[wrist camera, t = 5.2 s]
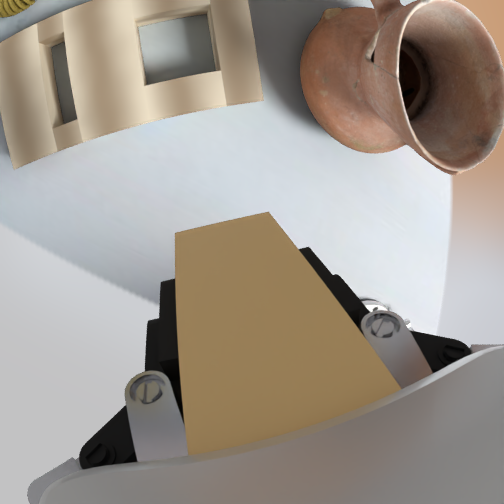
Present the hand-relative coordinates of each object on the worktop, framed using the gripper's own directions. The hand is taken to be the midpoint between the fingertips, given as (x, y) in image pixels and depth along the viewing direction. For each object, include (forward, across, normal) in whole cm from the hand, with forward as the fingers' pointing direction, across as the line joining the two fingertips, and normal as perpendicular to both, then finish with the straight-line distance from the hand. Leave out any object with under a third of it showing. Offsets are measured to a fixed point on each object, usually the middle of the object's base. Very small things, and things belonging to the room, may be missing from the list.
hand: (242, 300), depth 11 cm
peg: (+3, 0, 0) cm, 3 cm away
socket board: (+19, +5, -12) cm, 23 cm away
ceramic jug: (+19, -17, -7) cm, 26 cm away
